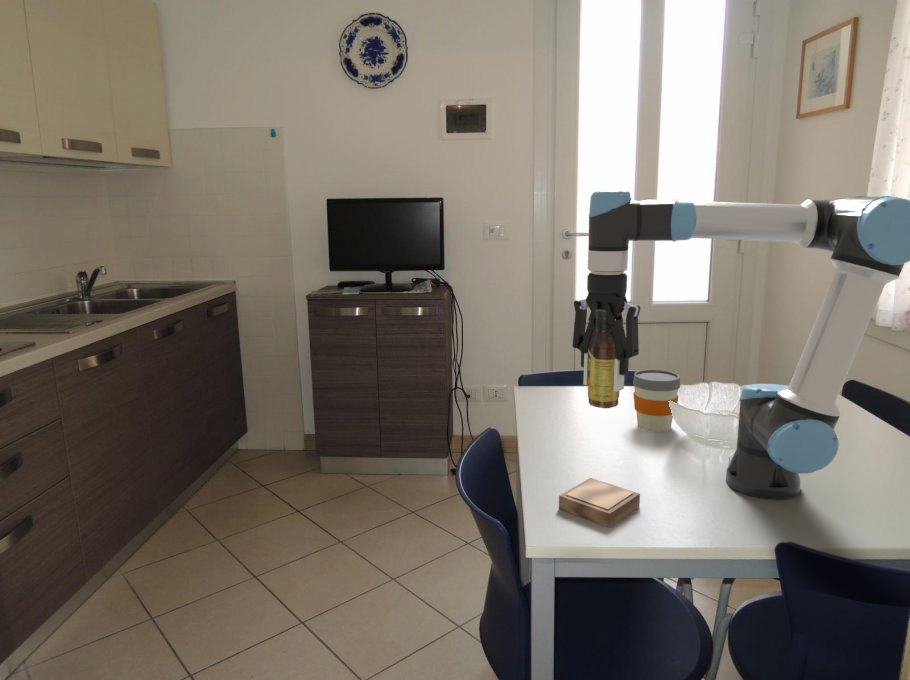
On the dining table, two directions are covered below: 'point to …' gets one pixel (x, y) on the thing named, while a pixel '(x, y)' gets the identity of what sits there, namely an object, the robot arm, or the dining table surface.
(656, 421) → the reusable coffee cup
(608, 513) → the pedestal
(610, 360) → the sauce bottle
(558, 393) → the dining table surface
